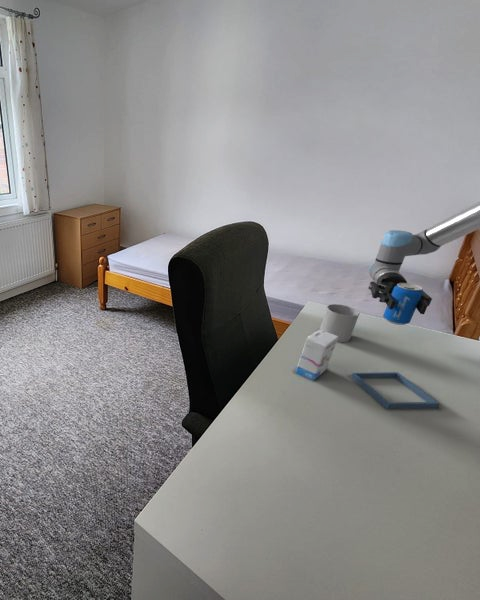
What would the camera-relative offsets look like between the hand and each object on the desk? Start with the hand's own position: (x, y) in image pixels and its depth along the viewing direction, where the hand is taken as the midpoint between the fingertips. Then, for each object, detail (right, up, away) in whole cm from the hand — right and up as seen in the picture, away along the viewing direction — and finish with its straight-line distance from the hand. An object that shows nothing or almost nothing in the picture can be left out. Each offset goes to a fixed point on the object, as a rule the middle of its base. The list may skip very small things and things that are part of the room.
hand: (408, 307), depth 101 cm
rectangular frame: (-18, -22, -13) cm, 31 cm away
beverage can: (+3, -5, +7) cm, 9 cm away
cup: (-13, -10, +12) cm, 21 cm away
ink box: (-32, -19, -5) cm, 38 cm away
